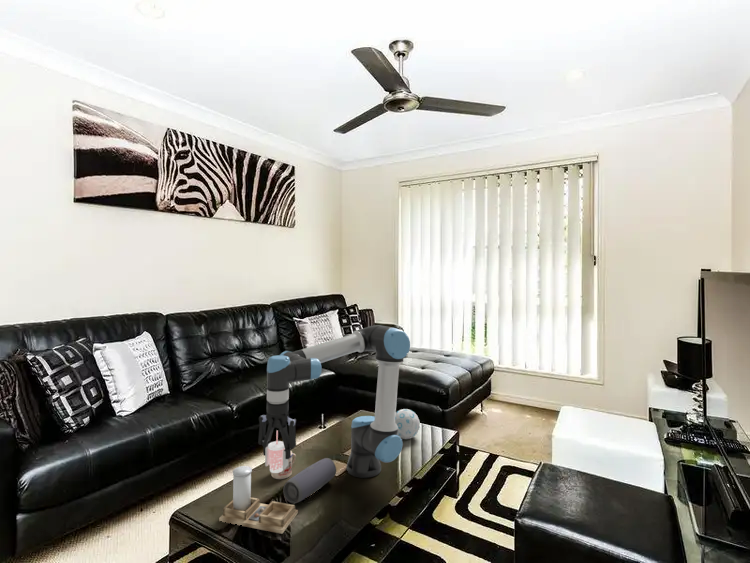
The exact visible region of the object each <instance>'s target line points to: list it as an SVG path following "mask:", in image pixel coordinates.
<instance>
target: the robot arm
mask: <svg viewBox="0 0 750 563" xmlns="http://www.w3.org/2000/svg"><path fill="white" fill-rule="evenodd" d="M410 349H411V340H410V338H409V336H408V334H407V333H406V332H405V331H403V330H401V329H399V328H396V327H391V326H385V325H381V324H377V325H376V324H375V325H370V326H366V327H364V328H361V329H357V330H354V331H353V332H352V334H348V335H344V336H342V337H338V338H335V339H333V340H329V341H325V342H323V343H319V344H315V345H313V346H309V347H305V348H302V349H299V350H295V351H290V350H285V351H283V352H281V353H280V354H279V355H272V356H269V357H268V359H267V365H266V381H267V382H266V414H262V415H260V416H259V417H258V423H259V428H258V440H257V441H258V442H257V443H258V445H259V446H260V445H261V446H262V447H263V450H262V451H263V452H262V453H263V456H264V458H265V459H264V460H265V461H264V462H265V463H264V466H265V467H268V466H270V463H269V449H268V444H269V443H271V439H272V436H273V433H274V430H275V429H278V432H279V433H280V436H281V438H282V442H283V443H284V447H285V449H284V450H283V469H285V468H286V467H287V466H288V459H289V458H290V456H291V451H292V450H294V448H295V447H296V446H297V438H296V436H297V435H296V434H297V433H296V424H297V419H296V418H294V419H293V418H291V417H290V415H289V410H290V409H289V408H290V407H289V402H290V401H289V399H290V398H289V397H290V383H294V382H301V381H312V380H315V379H316V380H317V379H319V378H320V377H321V375H322V364H323V363H325V362H328V361H331V360H335V359H338V358H340V357H345V356H347V355H349V354H352V353H356V352H358V353H360V354H361V353H363V352H375V361H376V362H377V363H378V368H377V371H378V372H377V383H376V396H375V407H374V408H375V410H374V415H373V416H372V415H361V416H357V417H355V418H354V419H352V421H351V427H350V430H351V434H350V435H351V436H350V438H351V441H350V442H351V443H350V454H349V457H348V459H347V462H346V471H348V472H347V473H348V474H349V475H350V476H352V477H356V478H359V479H360V478H361V479H363V478H364V479H369V478H372V477H373V478H374V477H376V476H377V475H379V474H380V473H381V471H382V463H391V462H393V461H395V460H396V459H397V458H398V457H399V456H400V454H401V452H402V449H403V445H404V443H403V439H401V438H400V437H399V436H398V426H397V424H396V423H395V415H396V412H397V402H398V401H397V399H398V398H397V397H398V386H399V375H400V374H399V373H400V366H401V364H402V363H403V362H404V358H405V357H407V356H408V354H409V352H410ZM267 422H268V425H267ZM287 423H288V424H287ZM287 425H288V426H287ZM381 462H382V463H381Z"/></svg>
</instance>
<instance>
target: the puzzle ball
mask: <svg viewBox="0 0 750 563" xmlns="http://www.w3.org/2000/svg"><path fill="white" fill-rule="evenodd" d="M395 423H396V424H397V426H398V436H399V437H400V438H401V439H402V440H410V439H412V438H414V437H415V436H416V435H417V434H418V432H419V431H420V427H421V426H420V424H421V423H420V419H419V417H418V415H417V414H416V412H415V411H413V410H412V409H408V408H403V409H402V408H401V409H399V410H396V415H395Z"/></svg>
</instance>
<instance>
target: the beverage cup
mask: <svg viewBox="0 0 750 563" xmlns="http://www.w3.org/2000/svg"><path fill="white" fill-rule="evenodd" d="M275 436H276V440H275V441H270V443H269V444H268V449H269V463H270V464H269V472H270V473H271V472H272V473H279V472H282V471H283V450H284V449H285V447H284V443H283V440H282V441H281V440H279V439H278V438H279V429H278V430H277V429H276V435H275Z"/></svg>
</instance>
